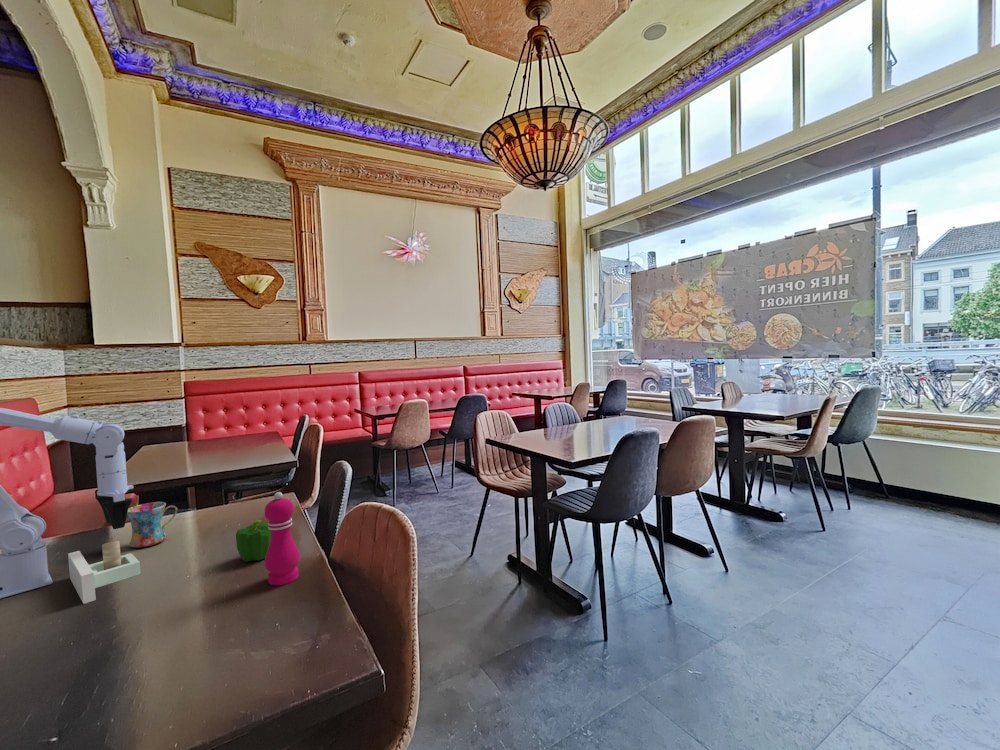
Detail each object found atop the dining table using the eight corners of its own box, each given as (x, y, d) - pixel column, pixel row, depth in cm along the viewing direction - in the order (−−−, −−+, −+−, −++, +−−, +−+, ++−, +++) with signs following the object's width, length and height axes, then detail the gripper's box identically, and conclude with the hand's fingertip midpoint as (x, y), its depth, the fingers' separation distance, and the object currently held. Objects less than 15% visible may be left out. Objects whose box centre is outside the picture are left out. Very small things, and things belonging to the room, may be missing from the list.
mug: (132, 553, 124) (129, 514, 124) (124, 545, 130) (121, 508, 130) (183, 538, 133) (181, 502, 133) (174, 532, 139) (171, 497, 139)
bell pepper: (234, 558, 117) (231, 520, 117) (268, 548, 123) (266, 511, 122) (241, 568, 111) (239, 528, 111) (278, 557, 116) (275, 519, 116)
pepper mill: (287, 587, 100) (281, 497, 99) (258, 586, 101) (252, 496, 101) (307, 572, 107) (302, 487, 106) (280, 571, 109) (275, 487, 108)
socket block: (91, 589, 104) (90, 576, 104) (84, 578, 110) (83, 566, 109) (140, 574, 110) (139, 561, 110) (132, 564, 116) (131, 553, 116)
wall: (83, 603, 97) (81, 576, 97) (69, 578, 110) (68, 553, 110) (95, 599, 99) (93, 572, 98) (81, 574, 112) (79, 550, 112)
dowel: (105, 580, 108) (103, 547, 108) (103, 577, 110) (100, 544, 110) (123, 575, 110) (120, 542, 110) (120, 572, 112) (118, 539, 112)
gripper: (138, 471, 114) (142, 525, 114) (125, 465, 123) (129, 515, 124) (101, 478, 109) (105, 534, 109) (90, 470, 118) (94, 522, 118)
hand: (115, 525), depth 116 cm, fingers open, 7 cm apart
